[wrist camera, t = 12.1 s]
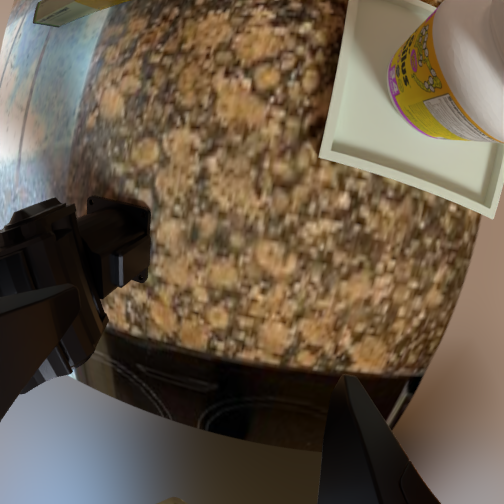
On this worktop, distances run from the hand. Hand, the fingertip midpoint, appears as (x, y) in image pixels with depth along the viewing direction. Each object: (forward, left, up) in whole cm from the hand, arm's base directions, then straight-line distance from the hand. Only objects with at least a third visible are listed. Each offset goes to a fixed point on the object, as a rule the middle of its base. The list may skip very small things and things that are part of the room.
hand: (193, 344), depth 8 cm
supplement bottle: (+9, +12, -13) cm, 19 cm away
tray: (+9, +12, -13) cm, 20 cm away
